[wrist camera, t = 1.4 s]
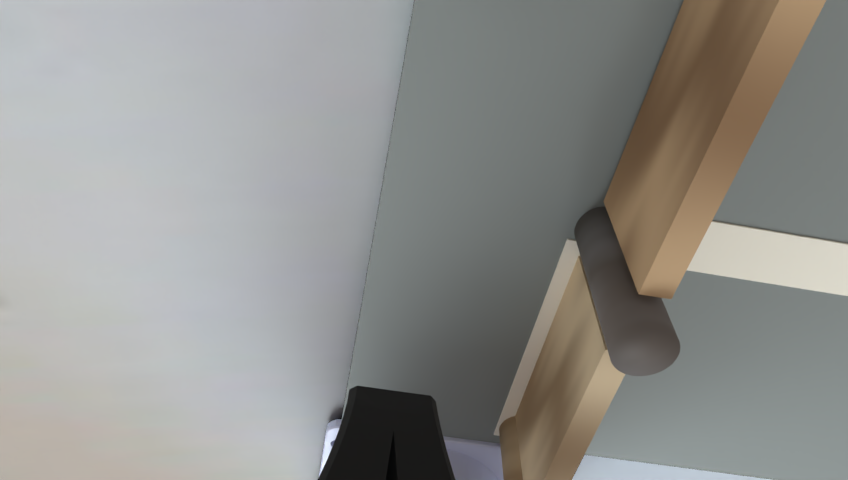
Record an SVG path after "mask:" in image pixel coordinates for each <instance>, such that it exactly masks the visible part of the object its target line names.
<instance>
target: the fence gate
mask: <svg viewBox="0 0 848 480" xmlns="http://www.w3.org/2000/svg"><path fill="white" fill-rule="evenodd" d="M825 2H826V0H684V1H683V4H682V6H681V9H680V11H679V14H678V16H677V19H676V21H675V24H674V26H673V29H672V31H671V34H670V36H669V39H668V41H667V44H666V46H665V49H664V51H663V54H662V56H661V59H660V61H659V64H658V66H657V69H656V71H655V74H654V76H653V79H652V81H651V84H650V86H649V89H648V91H647V94H646V96H645V99H644V101H643V104H642V106H641V109H640V111H639V114H638V116H637V119H636V121H635V124H634V126H633V129H632V131H631V134H630V136H629V139H628V141H627V144H626V146H625V149H624V151H623V154H622V156H621V159H620V161H619V164H618V166H617V169H616V171H615V174H614V176H613V179H612V181H611V184H610V186H609V189H608V191H607V194H606V196H605V199H604V204H605V207H606V209H607V212H608V215H609V217H610V220H611V223H612V225H613V228H614V231H615V233H616V236H617V239H618V241H619V244H620V247H621V249H622V252H623V255H624V257H625V260H626V263H627V265H628V268H629V271H630V273H631V276H632V279H633V281H634V284H635V287H636V289H637V292H638V294H640V295H647V296H653V297H659V298H666V299H672V297H673V295H674V293H675V291H676V289H677V288H678V286H679V284H680V282H681V280H682V278H683V276H684V274H685V272H686V270H687V268H688V266H689V264H690V262H691V261H692V259H693V257H694V255H695V253H696V251H697V249H698V247H699V245H700V243H701V241H702V239H703V237H704V235H705V234H706V232H707V230H708V228H709V226H710V224H711V222H712V220H713V218H714V216H715V214H716V212H717V210H718V208H719V206H720V205H721V203H722V201H723V199H724V197H725V195H726V193H727V191H728V189H729V187H730V185H731V183H732V181H733V179H734V178H735V176H736V174H737V172H738V170H739V168H740V166H741V164H742V162H743V160H744V158H745V156H746V154H747V152H748V151H749V149H750V147H751V145H752V143H753V141H754V139H755V137H756V135H757V133H758V131H759V129H760V127H761V125H762V124H763V122H764V120H765V118H766V116H767V114H768V112H769V110H770V108H771V106H772V104H773V102H774V100H775V98H776V97H777V95H778V93H779V91H780V89H781V87H782V85H783V83H784V81H785V79H786V77H787V75H788V73H789V71H790V70H791V68H792V66H793V64H794V62H795V60H796V58H797V56H798V54H799V52H800V50H801V48H802V46H803V44H804V43H805V41H806V39H807V37H808V35H809V33H810V31H811V29H812V27H813V25H814V23H815V21H816V19H817V17H818V16H819V14H820V12H821V10H822V8H823V6H824V4H825Z"/></svg>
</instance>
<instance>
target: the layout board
mask: <svg viewBox="0 0 848 480" xmlns="http://www.w3.org/2000/svg"><path fill="white" fill-rule="evenodd" d="M683 1H684V0H414V5H413V11H412V17H411V23H410V28H409V34H408V40H407V46H406V51H405V57H404V63H403V69H402V74H401V80H400V86H399V92H398V97H397V103H396V109H395V115H394V120H393V126H392V132H391V138H390V143H389V149H388V155H387V161H386V166H385V172H384V178H383V184H382V189H381V195H380V201H379V207H378V212H377V218H376V224H375V230H374V235H373V241H372V247H371V253H370V258H369V264H368V270H367V276H366V281H365V287H364V293H363V299H362V304H361V310H360V316H359V322H358V327H357V333H356V339H355V345H354V350H353V356H352V362H351V368H350V373H349V379H348V385H347V391H346V396H345V402H344V408H343V414H342V419H343V415H344V412H345V408H346V404H347V399H348V394H349V389H351V388H353V387H355V386H364V387H371V388H379V389H386V390H393V391H401V392H408V393H415V394H422V395H430V396H432V398H433V399H434V400H435V401H436V405H437V411H438V416H439V421H440V426H441V430H442V434H443V436H446V437H453V438H461V439H468V440H476V441H484V442H491V443H499V444H500V436H499V427H500V425H501V424H502V422H503V421H505V420H506V419H508V418H510V417H513V416H515V415H516V413H517V410H518V407H519V405H520V402H521V400H522V397H523V395H524V392H525V390H526V387H527V385H528V382H529V380H530V377H531V375H532V372H533V370H534V367H535V364H536V362H537V359H538V357H539V354H540V352H541V349H542V347H543V344H544V342H545V339H546V337H547V334H548V332H549V329H550V327H551V324H552V322H553V319H554V316H555V314H556V311H557V309H558V306H559V304H560V301H561V299H562V296H563V294H564V291H565V289H566V286H567V284H568V281H569V279H570V276H571V274H572V271H573V268H574V266H575V263H576V261H577V258H578V256H580V253H579V249H578V246H577V242H576V239H575V235H574V230H575V226H576V223H577V222H578V220H579V219H580V218H581V216H583V215H584V214H585V213H586V212H588V211H590V210H592V209H594V208H598V207H605V204H604V199H605V196H606V194H607V191H608V189H609V186H610V184H611V181H612V179H613V176H614V174H615V171H616V169H617V166H618V164H619V161H620V159H621V156H622V154H623V151H624V149H625V146H626V144H627V141H628V139H629V136H630V134H631V131H632V129H633V126H634V124H635V121H636V119H637V116H638V114H639V111H640V109H641V106H642V104H643V101H644V99H645V96H646V94H647V91H648V89H649V86H650V84H651V81H652V79H653V76H654V74H655V71H656V69H657V66H658V64H659V61H660V59H661V56H662V54H663V51H664V49H665V46H666V44H667V41H668V39H669V36H670V34H671V31H672V29H673V26H674V24H675V21H676V19H677V16H678V14H679V11H680V9H681V6H682V4H683ZM662 301H663V303H664V305H665V308H666V310H667V313H668V315H669V317H670V320H671V322H672V325H673V327H674V329H675V332H676V334H677V337H678V339H679V342H680V353H679V355H678V357H677V359H676V360H675V361H674V363H673V364H672V365H670V366H669V367H668V368H666V369H665V370H663V371H661V372H659V373H656V374H652V375H648V376H631V375H627V374H625V376H624V378H623V380H622V382H621V384H620V386H619V388H618V390H617V392H616V394H615V396H614V398H613V400H612V401H611V403H610V405H609V407H608V409H607V411H606V413H605V415H604V417H603V419H602V421H601V423H600V425H599V427H598V429H597V431H596V433H595V435H594V437H593V439H592V441H591V443H590V445H589V447H588V449H587V451H586V452H585V454H584V455H590V456H598V457H605V458H613V459H620V460H628V461H636V462H643V463H651V464H658V465H666V466H674V467H681V468H689V469H696V470H704V471H712V472H719V473H727V474H734V475H742V476H750V477H757V478H765V479H772V480H848V0H826V2H825V4H824V6H823V8H822V10H821V12H820V14H819V16H818V17H817V19H816V21H815V23H814V25H813V27H812V29H811V31H810V33H809V35H808V37H807V39H806V41H805V43H804V44H803V46H802V48H801V50H800V52H799V54H798V56H797V58H796V60H795V62H794V64H793V66H792V68H791V70H790V71H789V73H788V75H787V77H786V79H785V81H784V83H783V85H782V87H781V89H780V91H779V93H778V95H777V97H776V98H775V100H774V102H773V104H772V106H771V108H770V110H769V112H768V114H767V116H766V118H765V120H764V122H763V124H762V125H761V127H760V129H759V131H758V133H757V135H756V137H755V139H754V141H753V143H752V145H751V147H750V149H749V151H748V152H747V154H746V156H745V158H744V160H743V162H742V164H741V166H740V168H739V170H738V172H737V174H736V176H735V178H734V179H733V181H732V183H731V185H730V187H729V189H728V191H727V193H726V195H725V197H724V199H723V201H722V203H721V205H720V206H719V208H718V210H717V212H716V214H715V216H714V218H713V220H712V222H711V224H710V226H709V228H708V230H707V232H706V234H705V235H704V237H703V239H702V241H701V243H700V245H699V247H698V249H697V251H696V253H695V255H694V257H693V259H692V261H691V262H690V264H689V266H688V268H687V270H686V272H685V274H684V276H683V278H682V280H681V282H680V284H679V286H678V288H677V289H676V291H675V293H674V295H673V297H672V299H666V298H662ZM341 422H342V421H341Z"/></svg>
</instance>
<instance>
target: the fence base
mask: <svg viewBox="0 0 848 480" xmlns="http://www.w3.org/2000/svg"><path fill="white" fill-rule="evenodd" d="M574 235H575V239H576V242H577V246H578V249H579V253H580V256H578V258H577V261H576V263H575V266H574V268H573V271H572V274H571V276H570V279H569V281H568V284H567V286H566V289H565V291H564V294H563V296H562V299H561V301H560V304H559V306H558V309H557V311H556V314H555V316H554V319H553V322H552V324H551V327H550V329H549V332H548V334H547V337H546V339H545V342H544V344H543V347H542V349H541V352H540V354H539V357H538V359H537V362H536V364H535V367H534V370H533V372H532V375H531V377H530V380H529V382H528V385H527V387H526V390H525V392H524V395H523V397H522V400H521V402H520V405H519V407H518V410H517V413H516V415H515V416H513V417H510V418H508V419H506V420H505V421H503V422H502V424H501V425H500V427H499V436H500V447H501V457H502V468H503V479H504V480H572V478H573V476H574V474H575V472H576V470H577V468H578V466H579V464H580V462H581V460H582V458H583V456H584V454H585V452H586V451H587V449H588V447H589V445H590V443H591V441H592V439H593V437H594V435H595V433H596V431H597V429H598V427H599V425H600V423H601V421H602V419H603V417H604V415H605V413H606V411H607V409H608V407H609V405H610V403H611V401H612V400H613V398H614V396H615V394H616V392H617V390H618V388H619V386H620V384H621V382H622V380H623V378H624V376H625V374H627V375H631V376H648V375H652V374H656V373H659V372H661V371H663V370H665V369H666V368H668V367H669V366H670V365H672V364H673V363H674V361H675V360H676V359H677V357H678V355H679V353H680V342H679V339H678V337H677V334H676V332H675V329H674V327H673V325H672V322H671V320H670V317H669V315H668V313H667V310H666V308H665V305H664V303H663V301H662V298H659V297H653V296H647V295H640V294H638V292H637V289H636V287H635V284H634V281H633V279H632V276H631V273H630V271H629V268H628V265H627V263H626V260H625V257H624V255H623V252H622V249H621V247H620V244H619V241H618V239H617V236H616V233H615V231H614V228H613V225H612V223H611V220H610V217H609V215H608V212H607V209H606V207H598V208H594V209H592V210H590V211H588V212H586V213H585V214H584V215H583V216H581V218H580V219H579V220H578V222H577V223H576V226H575V230H574Z"/></svg>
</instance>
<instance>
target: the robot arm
mask: <svg viewBox="0 0 848 480" xmlns="http://www.w3.org/2000/svg"><path fill="white" fill-rule="evenodd" d="M341 421H342V422H341ZM318 480H504V479H503V468H502V457H501V447H500V444H499V443H491V442H484V441H476V440H468V439H461V438H453V437H446V436H443V434H442V430H441V426H440V421H439V416H438V411H437V405H436V401H435V400H434V399H433V398H432V396H430V395H422V394H415V393H408V392H401V391H393V390H386V389H379V388H371V387H364V386H355V387H353V388H351V389H349V394H348V399H347V404H346V408H345V412H344V415H343V419H336V420H333V421H331V422H329V423H328V425H327V428H326V434H325V440H324V447H323V453H322V460H321V466H320V472H319V478H318Z"/></svg>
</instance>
